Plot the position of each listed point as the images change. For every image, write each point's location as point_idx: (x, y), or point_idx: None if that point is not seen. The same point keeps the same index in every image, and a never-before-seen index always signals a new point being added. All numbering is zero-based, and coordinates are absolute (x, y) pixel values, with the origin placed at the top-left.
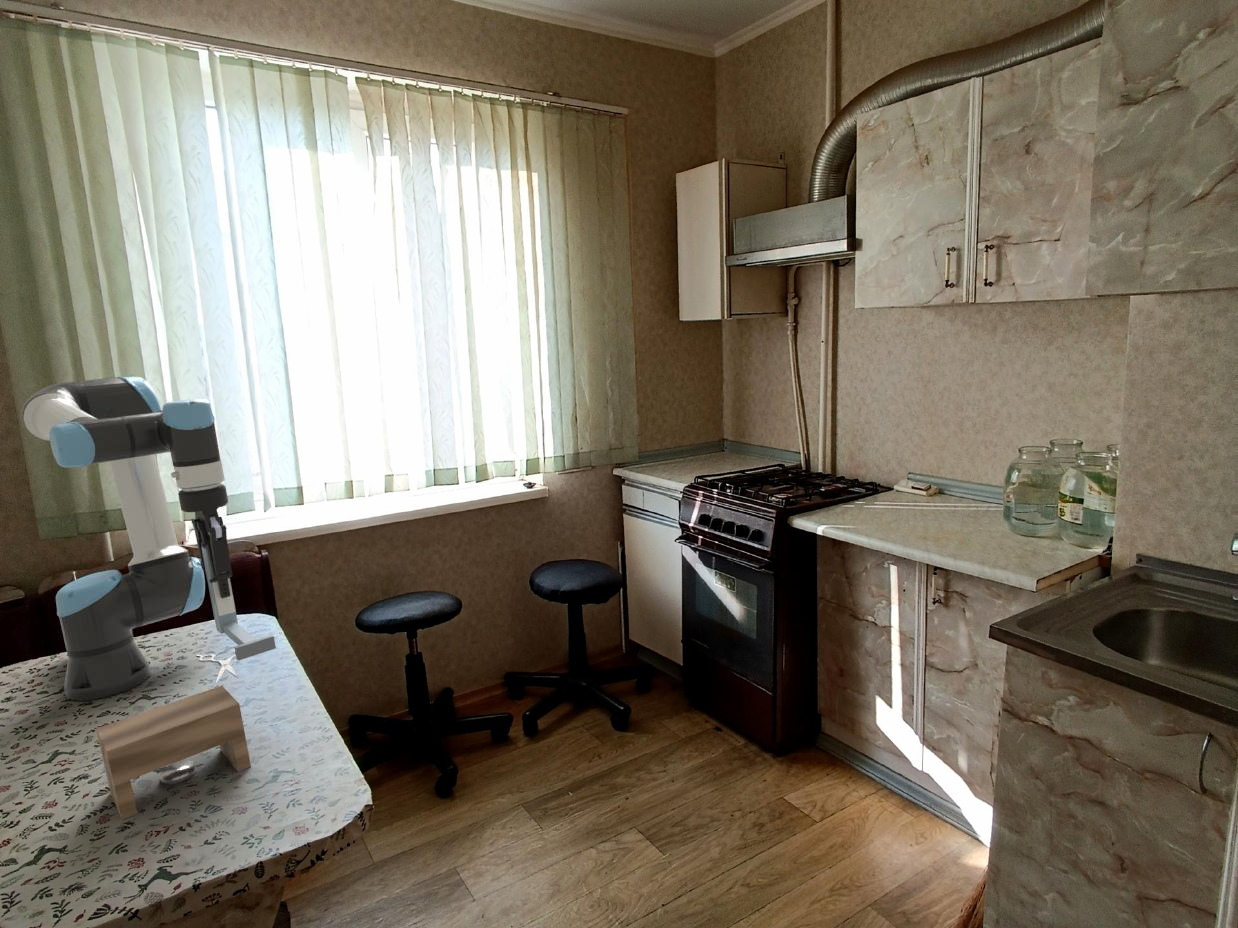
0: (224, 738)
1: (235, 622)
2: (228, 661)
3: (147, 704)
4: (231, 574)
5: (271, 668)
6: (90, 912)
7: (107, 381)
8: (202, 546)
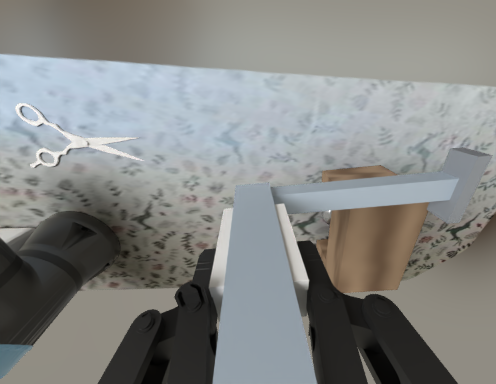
0: None
1: (281, 195)
2: (77, 138)
3: (161, 218)
4: (394, 307)
5: (135, 92)
6: (446, 257)
7: None
8: None
